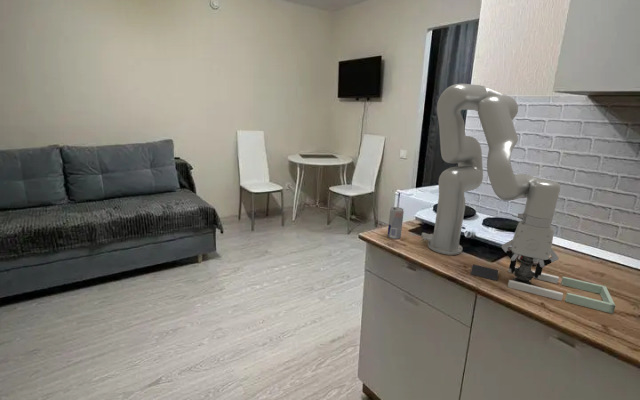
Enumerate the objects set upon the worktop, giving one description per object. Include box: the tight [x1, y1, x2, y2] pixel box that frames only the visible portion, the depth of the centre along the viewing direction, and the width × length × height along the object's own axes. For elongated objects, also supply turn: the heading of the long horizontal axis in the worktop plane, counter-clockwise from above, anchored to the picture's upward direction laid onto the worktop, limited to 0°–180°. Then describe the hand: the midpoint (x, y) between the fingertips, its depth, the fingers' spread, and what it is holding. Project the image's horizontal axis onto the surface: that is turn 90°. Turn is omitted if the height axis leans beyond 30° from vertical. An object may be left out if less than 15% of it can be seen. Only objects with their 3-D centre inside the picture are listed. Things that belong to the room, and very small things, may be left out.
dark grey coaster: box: [470, 263, 499, 282], centre depth 115 cm, size 8×8×1 cm
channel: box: [507, 264, 564, 302], centre depth 109 cm, size 14×12×2 cm
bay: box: [560, 276, 616, 315], centre depth 103 cm, size 11×12×2 cm
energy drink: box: [387, 206, 405, 240], centre depth 140 cm, size 5×5×12 cm
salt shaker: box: [512, 256, 535, 285], centre depth 109 cm, size 6×6×12 cm
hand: (524, 273), depth 109 cm, fingers closed on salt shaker, 5 cm apart
